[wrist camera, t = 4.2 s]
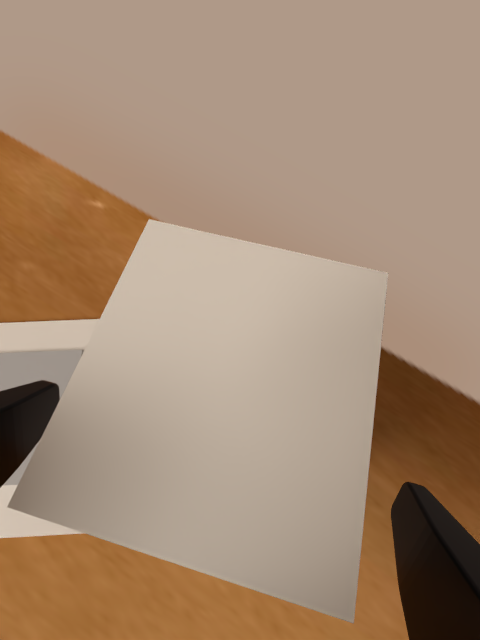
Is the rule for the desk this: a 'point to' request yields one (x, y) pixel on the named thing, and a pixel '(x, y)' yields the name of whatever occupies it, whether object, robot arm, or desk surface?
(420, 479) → the desk surface
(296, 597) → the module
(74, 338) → the rail board
